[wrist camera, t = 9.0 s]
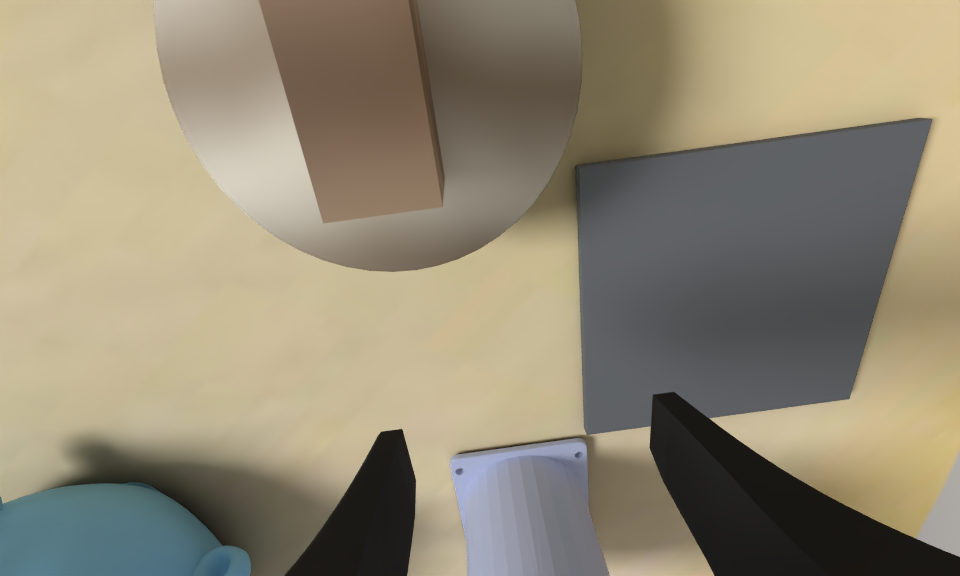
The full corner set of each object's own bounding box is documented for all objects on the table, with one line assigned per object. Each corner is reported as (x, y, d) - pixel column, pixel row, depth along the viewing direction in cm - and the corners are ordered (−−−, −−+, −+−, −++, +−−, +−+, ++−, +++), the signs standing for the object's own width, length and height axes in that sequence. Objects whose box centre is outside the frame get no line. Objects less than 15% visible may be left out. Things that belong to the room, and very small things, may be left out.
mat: (841, 392, 26) (849, 399, 25) (584, 427, 26) (586, 434, 25) (918, 117, 19) (932, 119, 19) (575, 165, 19) (579, 168, 19)
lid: (580, 238, 16) (620, 290, 12) (254, 283, 16) (192, 348, 12) (567, -217, 11) (629, -375, 7) (89, -149, 11) (-106, -270, 7)
